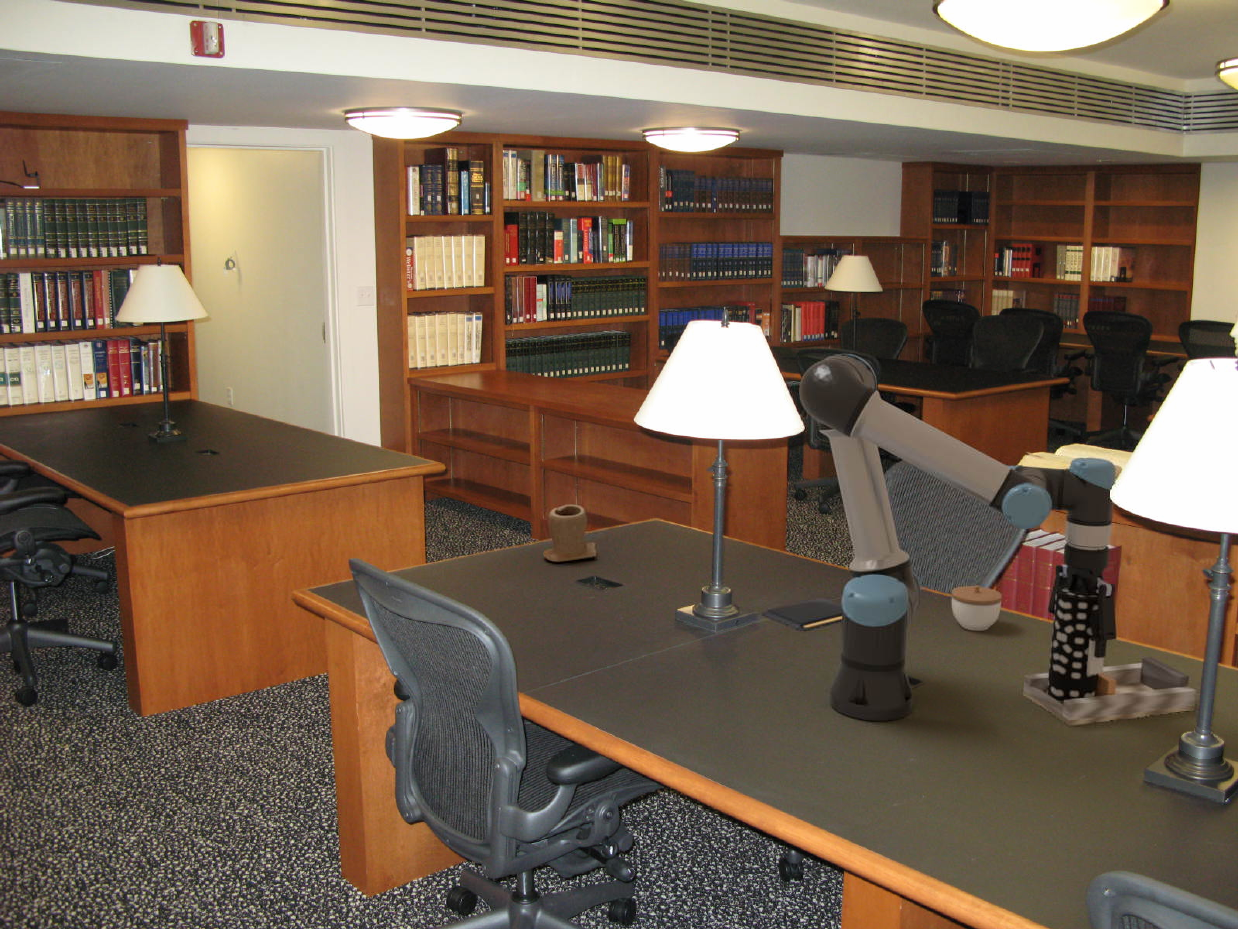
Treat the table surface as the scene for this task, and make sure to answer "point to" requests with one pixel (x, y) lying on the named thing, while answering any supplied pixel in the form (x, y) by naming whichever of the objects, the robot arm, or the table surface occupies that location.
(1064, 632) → the white-spotted black cylinder
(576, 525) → the stone cup
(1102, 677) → the block
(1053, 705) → the marbled beige tray
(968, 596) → the lidded jar
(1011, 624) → the table surface
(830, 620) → the dark navy book
